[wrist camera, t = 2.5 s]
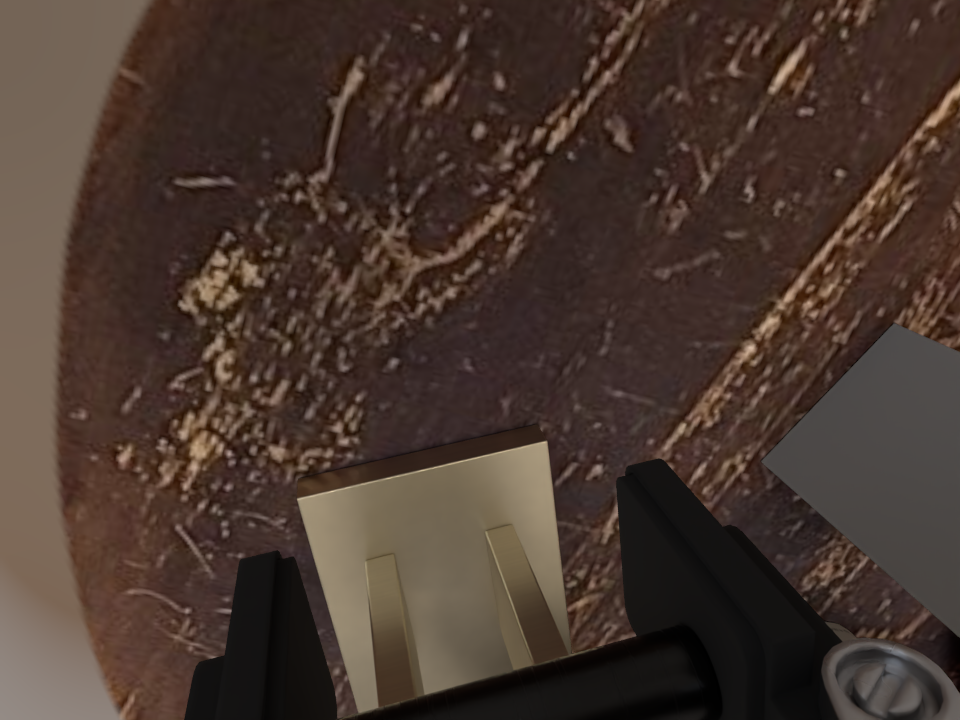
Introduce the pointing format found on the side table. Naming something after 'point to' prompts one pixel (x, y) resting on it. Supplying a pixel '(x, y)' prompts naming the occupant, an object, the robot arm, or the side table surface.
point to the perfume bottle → (889, 464)
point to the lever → (585, 686)
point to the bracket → (440, 564)
